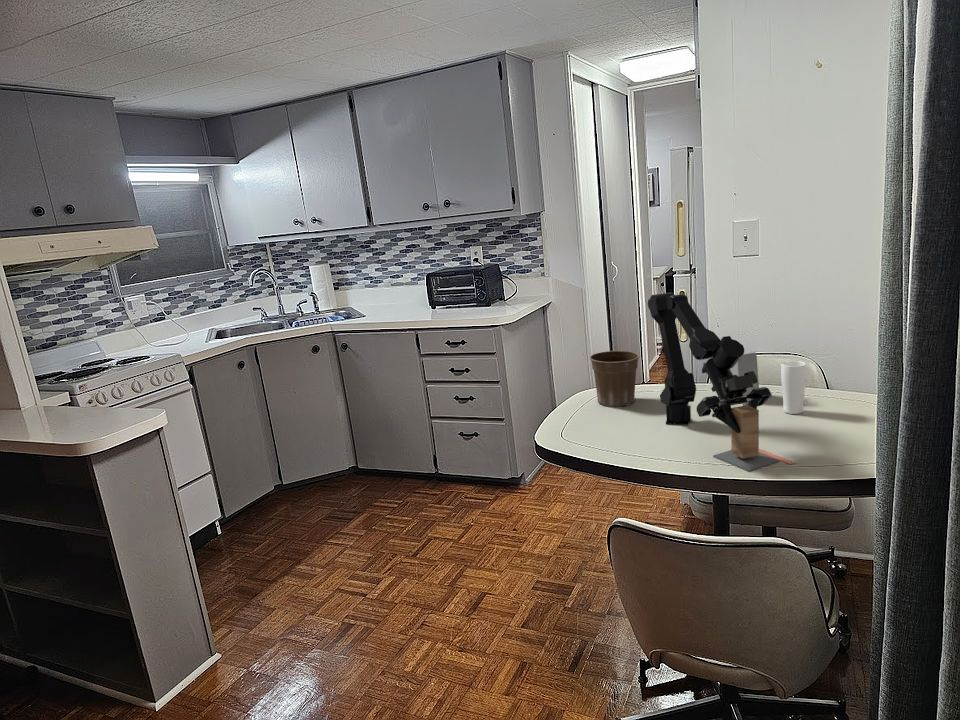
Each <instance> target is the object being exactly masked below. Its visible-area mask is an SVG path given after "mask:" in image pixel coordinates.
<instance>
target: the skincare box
mask: <svg viewBox="0 0 960 720" xmlns="http://www.w3.org/2000/svg"><path fill="white" fill-rule="evenodd" d="M757 356H758V355H757V352H756V351H753V350H752V349H750V348H748V347H747V348H744V354H743V355H742V357H741V358H740V359H739V361H738V362H737V363H736V364H735V366H734V367H733V368H731V369H730V370H731V372H732V374H733V375H737V376H738V377H739V376H744V373H747V372H750V371H754V373H755V375H756V376H757V380H758V382H757V383H755V384H753V387H749V388H746V389H747V391H746V392H745V393H743V396H744V395H748V394H749V393H750V392H751V391H752V390H753V389H756V388H760V385H759V384H760V383H759V369H758V367H759V366H758V357H757Z"/></svg>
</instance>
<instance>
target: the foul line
mask: <svg viewBox="0 0 960 720" xmlns="http://www.w3.org/2000/svg"><path fill="white" fill-rule="evenodd" d="M759 453H761V454H763V455H766V456H769V457H771V458H774V459H777V460H779V462H782V463H785V464H788V465H790V466H791V465H794V464H796V462H795V461H794V460H791V459H787V458H785V457H783V456H780V455H777V454H775V453H774V454H773V453H772V452H768V451H766V450H763V449H760V448H759Z"/></svg>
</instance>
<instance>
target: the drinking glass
mask: <svg viewBox="0 0 960 720" xmlns="http://www.w3.org/2000/svg"><path fill="white" fill-rule="evenodd" d="M780 365H781V367H780V381H781V390H782V391H781V392H782V402H783V403H782V404H783V407H782V409H783V412H784V413H785V414H790V415H799V414H802V413H803V411H804V399H805V393H806V392H805V390H806V381H807V363H806V362H803V361H799V360H789V361H788V360H787V361H783V362H781V364H780Z"/></svg>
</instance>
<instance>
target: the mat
mask: <svg viewBox="0 0 960 720" xmlns="http://www.w3.org/2000/svg"><path fill="white" fill-rule="evenodd" d="M712 457H713V458H715V459H717V460H720V461H722V462H724V463H727V464H729V465H732V466H734V467H736V468H740V469H741V470H744V471H745V472H746V471H747V472H752V471H755V470H758V469H761V468H765V467H767V466H771V465H773V464H776V463H779V462H780V461H779V460H777V459H774V458H771V457H769V456H766V455H763V454H761V453H759V455H758V456H753V457H748V458H743V459H742V458H741V457H739V456H737V455H735V454H734V453H732V449H730V450H726V451H723V452H719V453H717V454H714V455H713V456H712Z"/></svg>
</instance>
